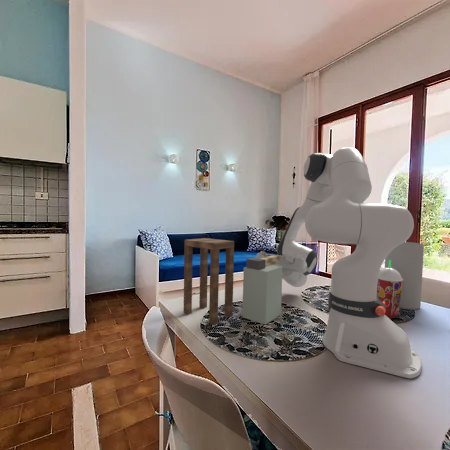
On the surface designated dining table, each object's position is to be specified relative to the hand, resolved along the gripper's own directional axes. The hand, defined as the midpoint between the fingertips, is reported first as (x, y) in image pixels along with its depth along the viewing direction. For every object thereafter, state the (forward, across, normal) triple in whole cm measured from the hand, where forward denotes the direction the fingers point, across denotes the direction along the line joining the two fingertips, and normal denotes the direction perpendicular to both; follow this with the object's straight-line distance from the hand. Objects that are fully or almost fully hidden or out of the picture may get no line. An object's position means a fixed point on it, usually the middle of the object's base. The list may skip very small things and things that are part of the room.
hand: (273, 254), depth 97 cm
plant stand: (+8, +14, -28) cm, 32 cm away
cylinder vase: (-44, -38, +1) cm, 58 cm away
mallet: (+3, 0, -6) cm, 7 cm away
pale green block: (-2, -1, -22) cm, 22 cm away
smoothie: (-29, -35, -7) cm, 46 cm away
